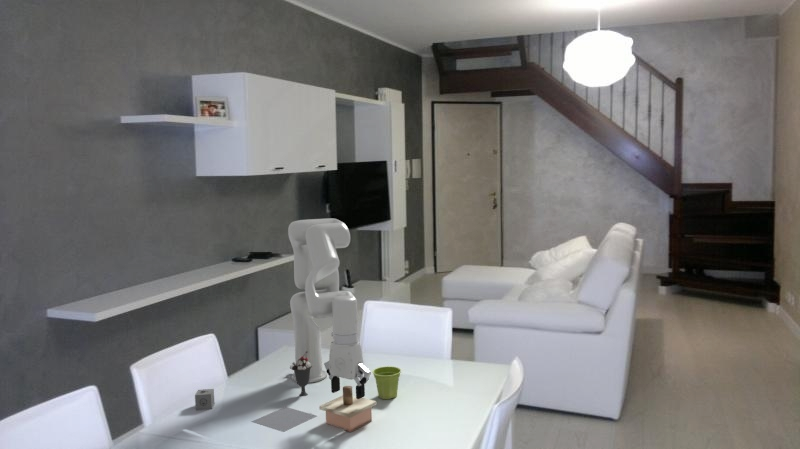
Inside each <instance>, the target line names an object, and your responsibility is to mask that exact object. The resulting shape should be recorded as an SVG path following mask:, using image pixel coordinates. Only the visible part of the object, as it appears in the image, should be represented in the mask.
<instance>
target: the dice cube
mask: <svg viewBox="0 0 800 449" xmlns="http://www.w3.org/2000/svg"><path fill="white" fill-rule="evenodd" d="M194 403H195V411H201V410H202V411H205V410H213V408H214V406H215V389H214V388H206V389H204V388H203V389H197V391H196V393H195V395H194Z"/></svg>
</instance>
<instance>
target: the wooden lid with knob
mask: <svg viewBox="0 0 800 449" xmlns="http://www.w3.org/2000/svg"><path fill="white" fill-rule="evenodd" d="M375 406H377V401H376V400H374V399H370V398H369V399H368V398H364V397H362V398H360V399H357V398H356V395H353V386H352V385H344V386H342V395H341V396H339V397H337V398H334V399H332V400H329V401H327V402H325V403H324V404H321V405H319V407H318V408H319V410H321V411H324V412H326V411H327V412H331V413H334V414H338V415H342V416H345V417H349V418H351V417H353V416H355V415H357V414H359V413H361V412H363V411H365V410H367V409H369V408H371V409H372V407H375Z"/></svg>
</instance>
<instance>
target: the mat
mask: <svg viewBox="0 0 800 449" xmlns="http://www.w3.org/2000/svg"><path fill="white" fill-rule="evenodd" d="M316 417H318V415H316V414H312V413H309V412H305V411H301V410H299V409H294V408H290V407H287V406H285V407H282V408H279V409H277V410H275V411H272V412H270V413H268V414H266V415H263V416H260V417H258V418H256V419H253V420H252V421H251V422H252V423H255V424H258V425H260V426H264V427H267V428H270V429H272V430H276V431H280V432H283V433H284V432H287V431H288V430H291V429H293V428H295V427H297V426H299V425H302V424H303V423H305V422H308V421H310V420H312V419H314V418H316Z"/></svg>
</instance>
